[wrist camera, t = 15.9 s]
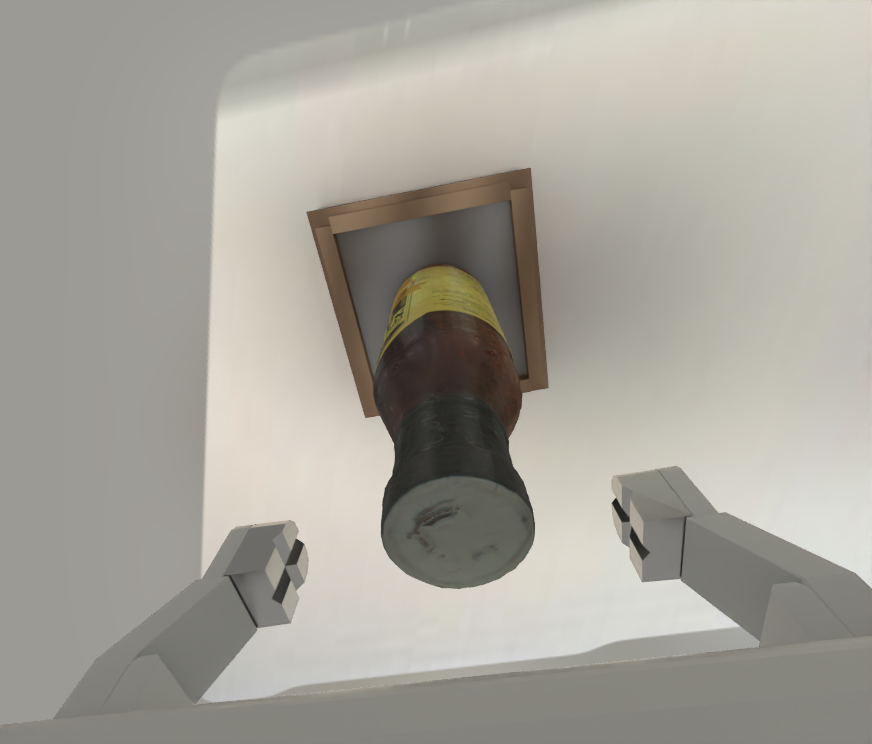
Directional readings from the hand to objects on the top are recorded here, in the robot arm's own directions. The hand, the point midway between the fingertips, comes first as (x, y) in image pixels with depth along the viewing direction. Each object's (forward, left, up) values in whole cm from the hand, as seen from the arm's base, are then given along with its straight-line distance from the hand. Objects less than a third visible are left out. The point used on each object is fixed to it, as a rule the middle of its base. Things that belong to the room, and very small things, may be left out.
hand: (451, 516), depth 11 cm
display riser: (0, 0, -23) cm, 23 cm away
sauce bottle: (0, 0, -20) cm, 20 cm away
